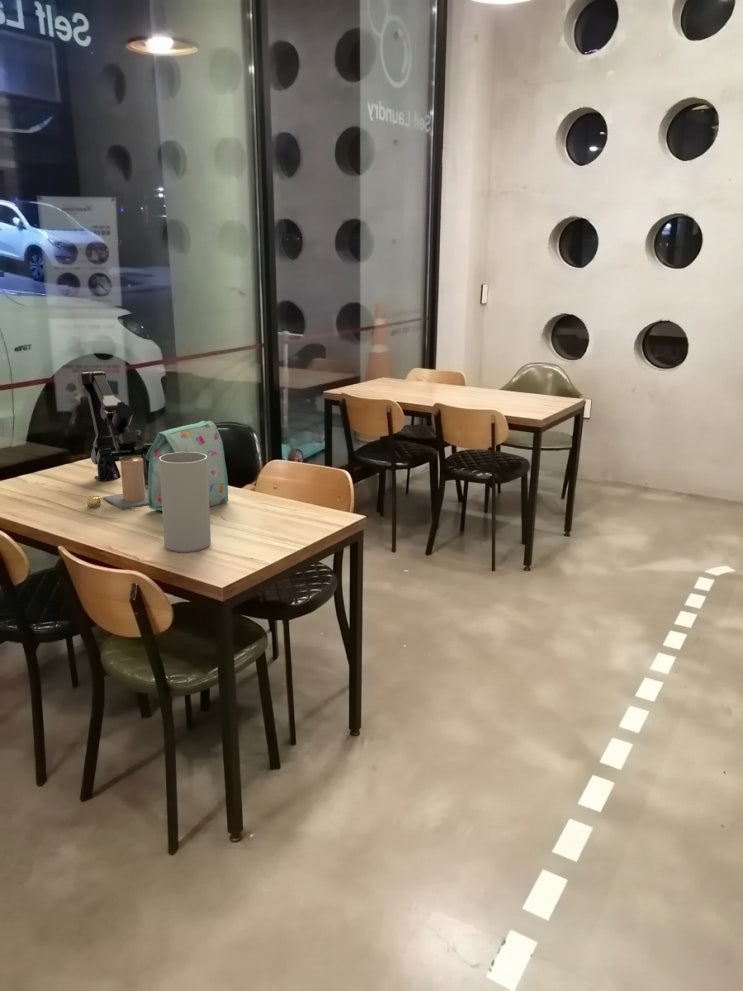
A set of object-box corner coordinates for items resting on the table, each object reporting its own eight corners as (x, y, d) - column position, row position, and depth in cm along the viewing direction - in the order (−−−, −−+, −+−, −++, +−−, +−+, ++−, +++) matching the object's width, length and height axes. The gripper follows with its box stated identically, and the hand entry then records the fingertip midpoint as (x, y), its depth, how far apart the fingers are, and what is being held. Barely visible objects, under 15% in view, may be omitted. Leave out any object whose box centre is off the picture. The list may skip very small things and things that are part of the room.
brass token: (85, 506, 245) (84, 497, 245) (98, 504, 248) (97, 495, 247) (90, 509, 242) (89, 500, 242) (102, 507, 245) (102, 497, 244)
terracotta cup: (119, 499, 251) (116, 460, 247) (134, 494, 257) (131, 456, 253) (134, 502, 248) (131, 463, 244) (149, 497, 254) (147, 458, 250)
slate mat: (103, 498, 253) (103, 496, 253) (146, 491, 263) (146, 489, 262) (121, 509, 242) (121, 507, 242) (166, 501, 252) (166, 499, 251)
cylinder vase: (192, 534, 221) (188, 449, 214) (220, 544, 214) (216, 457, 207) (155, 545, 212) (149, 457, 205) (183, 556, 204) (178, 465, 197)
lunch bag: (198, 494, 260) (194, 415, 253) (233, 503, 252) (230, 421, 244) (143, 510, 242) (138, 426, 235) (180, 520, 233) (175, 433, 226)
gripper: (95, 424, 243) (108, 466, 238) (153, 419, 254) (167, 458, 248) (91, 444, 252) (103, 484, 246) (147, 438, 262) (160, 476, 256)
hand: (134, 475), depth 249 cm, fingers open, 9 cm apart
